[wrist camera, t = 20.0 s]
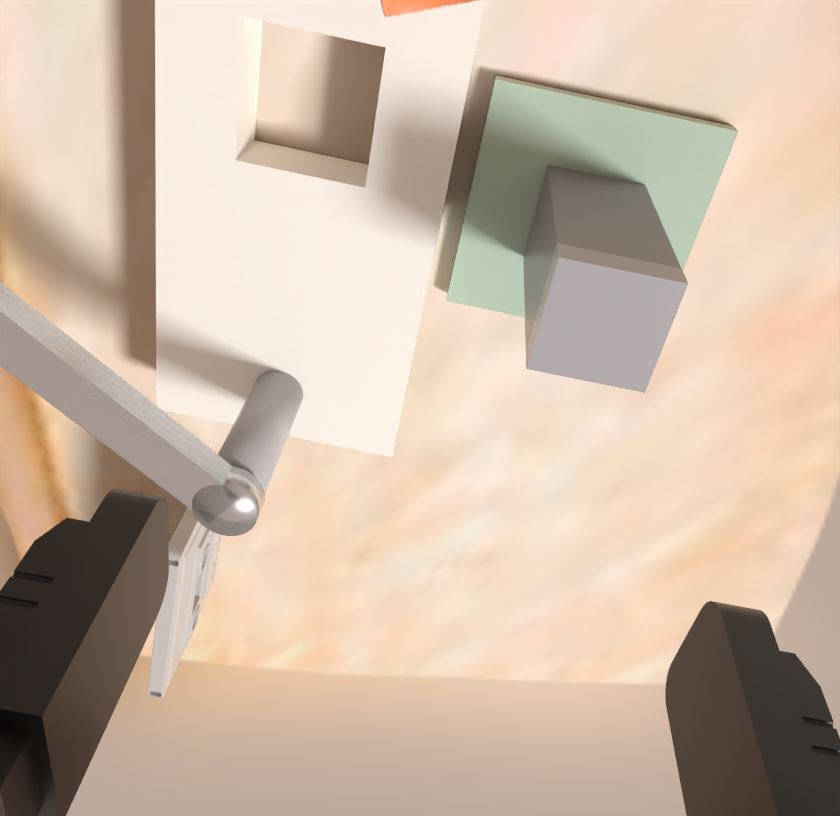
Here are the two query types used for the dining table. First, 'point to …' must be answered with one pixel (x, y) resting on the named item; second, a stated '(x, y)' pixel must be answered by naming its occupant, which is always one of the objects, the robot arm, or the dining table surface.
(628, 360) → the plug
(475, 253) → the mat
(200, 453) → the clip
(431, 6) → the stack of blocks
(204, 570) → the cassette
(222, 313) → the socket block
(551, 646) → the dining table surface
